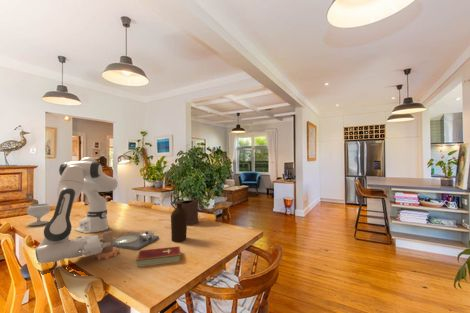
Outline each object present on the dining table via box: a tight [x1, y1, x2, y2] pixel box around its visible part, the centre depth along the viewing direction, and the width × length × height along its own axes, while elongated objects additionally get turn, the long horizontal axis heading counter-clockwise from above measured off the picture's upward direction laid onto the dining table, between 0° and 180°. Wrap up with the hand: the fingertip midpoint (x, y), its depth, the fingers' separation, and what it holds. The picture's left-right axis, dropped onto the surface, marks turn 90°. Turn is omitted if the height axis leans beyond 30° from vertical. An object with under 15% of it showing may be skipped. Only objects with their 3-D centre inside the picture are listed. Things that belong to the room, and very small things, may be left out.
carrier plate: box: [113, 231, 160, 251], centre depth 137 cm, size 24×20×6 cm
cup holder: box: [170, 192, 200, 227], centre depth 181 cm, size 18×24×25 cm
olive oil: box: [170, 200, 188, 243], centre depth 141 cm, size 11×11×25 cm
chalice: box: [26, 203, 51, 227], centre depth 175 cm, size 14×14×15 cm
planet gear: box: [94, 230, 120, 260], centre depth 118 cm, size 11×11×12 cm
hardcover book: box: [135, 246, 181, 268], centre depth 113 cm, size 12×21×4 cm, turn 107°
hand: (109, 241), depth 118 cm, fingers closed on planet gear, 5 cm apart
